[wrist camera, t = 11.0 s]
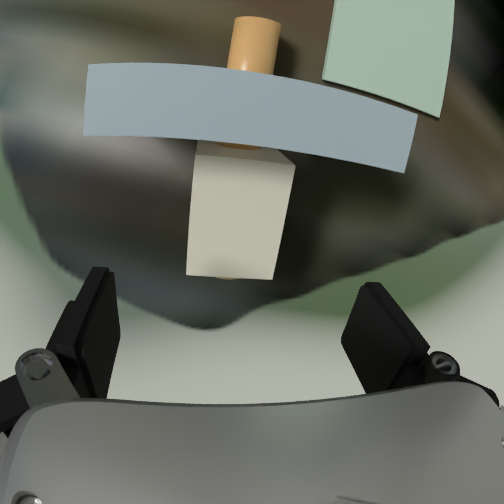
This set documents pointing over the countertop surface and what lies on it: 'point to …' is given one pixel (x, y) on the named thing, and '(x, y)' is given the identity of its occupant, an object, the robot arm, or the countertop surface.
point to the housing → (245, 111)
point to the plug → (240, 182)
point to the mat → (392, 49)
